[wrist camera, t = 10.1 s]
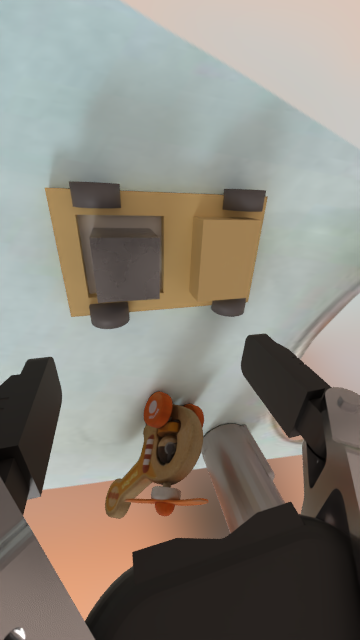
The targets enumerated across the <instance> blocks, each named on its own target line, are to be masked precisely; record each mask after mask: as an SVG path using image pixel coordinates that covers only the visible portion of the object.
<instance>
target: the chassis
mask: <svg viewBox="0 0 360 640" xmlns="http://www.w3.org/2000/svg"><path fill="white" fill-rule="evenodd" d="M69 186H70V189H64V188H45V191H46V196H47V201H48V206H49V211H50V216H51V220H52V225H53V230H54V235H55V240H56V245H57V250H58V254H59V259H60V264H61V269H62V274H63V279H64V284H65V288H66V293H67V298H68V303H69V308H70V313H71V317H75V316H87V315H91V321H92V324H93V325H94V326H95V327H97V328H102V329H113V328H118V327H121V326H123V325H125V324H126V323H128V321H129V312H135V311H147V310H159V309H170V308H182V307H194V306H206V305H212V306H211V309H212V310H213V311H214V312H215V313H217V314H219V315H223V316H229V317H234V316H239V315H242V314H243V313H244V308H245V303H246V302H248V298H249V293H250V287H251V282H252V277H253V271H254V266H255V261H256V255H257V250H258V245H259V239H260V234H261V229H262V223H263V218H264V213H265V208H266V202H267V197H265V194H266V191H264V190H242V189H224V195H216V194H190V193H165V192H140V191H120V185H119V184H112V183H94V182H69ZM93 228H150V229H151V230H152V231H153V232H154V233H155V234H156V235H157V236H159V237H160V299H151V300H136V301H121V302H106V303H98V299H97V292H96V284H95V277H94V269H93V262H92V254H91V247H90V239H89V237H90V234H91V232H92V229H93Z"/></svg>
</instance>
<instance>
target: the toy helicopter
mask: <svg viewBox="0 0 360 640" xmlns="http://www.w3.org/2000/svg"><path fill="white" fill-rule="evenodd" d="M144 421H145V423H146V424H147V425H146V426H145V428H144V432H143V434H144V444H143V448H142V452H141V456H140V458H139V460H138V462H137V463H136V464H135V465H134V466H133V467H132V468H131V470H130V471H129V472H128V473H127V474H126V475H125V476H124V477H123V478H122V479H116V480H115V481H114V482H113V483H112V484H111V486H110V488H109V491H108V493H107V497H106V503H105V510H106V514H107V515H108V516H109V517H113V518H118V519H120V518H122V517H124V516H125V514H126V513H127V511H128V509H129V507H130V504H131V502H134V503H151V504H155V508H156V511H157V513H158V514H159V515H162V516H168V515H170V514H171V513H172V512H173V510H174V507H175V505H181V506H186V505H187V506H188V505H201V504H206V503H208V500H207V499H203V498H202V499H201V498H196V499H186V500H180V497H181V491H180V490H178V489H175V488H171V485H173V484H176V483H178V482H180V481H181V480H183V479H184V478H185V477H186V476H187V475H188V474H189V473H190V472H191V470H192V469H193V467H194V466H195V464H196V462H197V460H198V458H199V456H200V453H201V450H202V445H203V430H202V427H203V423H204V415H203V412H202V410H201V409H200V408H199V407H198V406H195V405H193V404H186V405H185V406H180V405H175V404H172V399H171V397H170V396H169V395H168V394H165V393H163V392H160V391H159V392H156V393H154V394H152V395H151V397H150V398H149V399H148V401H147V403H146V406H145V409H144ZM152 482H154V483H157V484H161V485H163V487H161V486H159V487H158V486H157V487H153V488H152V493H151V498H152V499H134V498H135V497H136V496H137V495H138V494H140V493H141V492H142V491H143V490H144V489H145V488H146V487H147V486H148V485H150V484H151V483H152Z"/></svg>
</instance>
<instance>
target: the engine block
mask: <svg viewBox="0 0 360 640" xmlns="http://www.w3.org/2000/svg"><path fill="white" fill-rule="evenodd" d="M89 239H90V247H91V254H92V262H93V269H94V277H95V284H96V292H97V299H98V303H106V302H121V301H136V300H151V299H160V237H159V236H157V235H156V234H155V233H154V232H153V231H152V230H151V229H150V228H93V229H92V232H91V234H90V237H89Z"/></svg>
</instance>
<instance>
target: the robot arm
mask: <svg viewBox="0 0 360 640" xmlns="http://www.w3.org/2000/svg"><path fill="white" fill-rule="evenodd" d="M241 369H242V373H243V375H244V377H245V378H246V380H247V381H248V382H249V384H250V385H251V386H252V388H253V389H254V391H255V392H256V393H257V395H258V396H259V397H260V399H261V400H262V402H263V403H264V404H265V406H266V407H267V408H268V410H269V411H270V413H271V414H272V415H273V417H274V418H275V419H276V421H277V422H278V424H279V425H280V426H281V428H282V429H283V430H284V432H285V433H286V435H287V436H288V437H289V438H291V437H295V436H299V435H301V436H302V437H303V438H304V441H303V443H302V455H303V475H304V501H303V506H302V510H301V514H298V513H297V511H296V509H295V508H294V506H293V504H292V503H291V502H288V503H285V502H284V500H283V498H282V497H281V495H280V493H279V491H278V490H277V488H276V486H275V484H274V482H273V479H274V472H273V470H272V469H271V467H270V465H269V464H268V462H267V460H266V458H265V457H264V455H263V453H262V452H261V450H260V448H259V447H258V445H257V443H256V441H255V440H254V438H253V436H252V435H251V433H250V431H249V430H248V428H247V426H246V425H243V426H240V425H238V424H225V425H221V426H219V427H217V428H215V429H213V430H211V431H210V432H209V433H208V434H206V435H205V437H204V438H203V445H202V450H201V452H202V455H203V459H204V461H205V464H206V466H207V469H208V472H209V475H210V478H211V480H212V483H213V486H214V489H215V492H216V494H217V497H218V500H219V503H220V505H221V508H222V511H223V514H224V517H225V519H226V522H227V525H228V527H229V530H230V533H231V534H229V535H228V536H227V537H225V538H223V539H193V538H175V539H172V540H169V541H166V542H163V543H160V544H157V545H153V546H150V547H147V548H144V549H141V550H138V551H135V552H133V567H131V568H130V569H128V570H127V571H126V572H124V573H123V574H122V575H121V576H120V577H119V578H118V579H116V580H115V581H114V582H113V583H112V584H111V585H110V587H109V588H108V589H107V590H106V591H105V592H104V594H103V595H102V596H101V597H100V599H99V600H98V602H97V603H96V604H95V606H94V607H93V609H92V610H91V612H90V613H89V615H88V617H87V619H86V620H85V621H84V620H83V618H82V616H81V615H80V613H79V611H78V609H77V608H76V606H75V604H74V603H73V601H72V599H71V597H70V596H69V594H68V592H67V590H66V589H65V587H64V585H63V583H62V582H61V580H60V578H59V577H58V575H57V573H56V571H55V570H54V568H53V566H52V565H51V563H50V561H49V559H48V558H47V556H46V555H45V552H44V551H43V549H42V547H41V545H40V544H39V542H38V540H37V539H36V537H35V535H34V533H33V532H32V530H31V528H30V527H29V525H28V524H27V522H26V520H25V519H24V517H23V513H24V509H25V505H26V501H27V500H28V499H32V498H36V497H40V496H41V493H42V489H43V484H44V480H45V475H46V471H47V466H48V462H49V457H50V453H51V448H52V444H53V439H54V435H55V430H56V426H57V422H58V417H59V413H60V408H61V403H62V390H61V385H60V382H59V378H58V374H57V370H56V366H55V362H54V359H53V358H52V357H44V358H35V359H28V360H27V362H26V364H25V366H24V368H23V370H22V372H21V374H19V375H12V376H10V377H9V378H8V379H7V380H6V381H5V382H4V383H3V384H2V385H0V640H360V395H358V394H357V393H355V392H353V391H350V390H347V389H344V388H338V387H333V388H332V387H330V386H329V385H328V384H327V383H326V382H325V381H324V380H323V379H321V378H320V377H319V376H318V375H317V374H316V373H315V372H314V371H312V370H311V369H310V368H309V367H308V366H307V365H304V363H303V362H302V361H301V360H300V359H299V358H297V356H296V355H294V354H293V353H292V352H291V351H290V350H289V349H287V348H285V347H283V346H282V345H280V344H278V343H276V342H275V341H273V340H272V339H271V338H270V337H269V336H268V335H267V334H256V335H249V336H247V338H246V341H245V346H244V351H243V356H242V361H241Z"/></svg>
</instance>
